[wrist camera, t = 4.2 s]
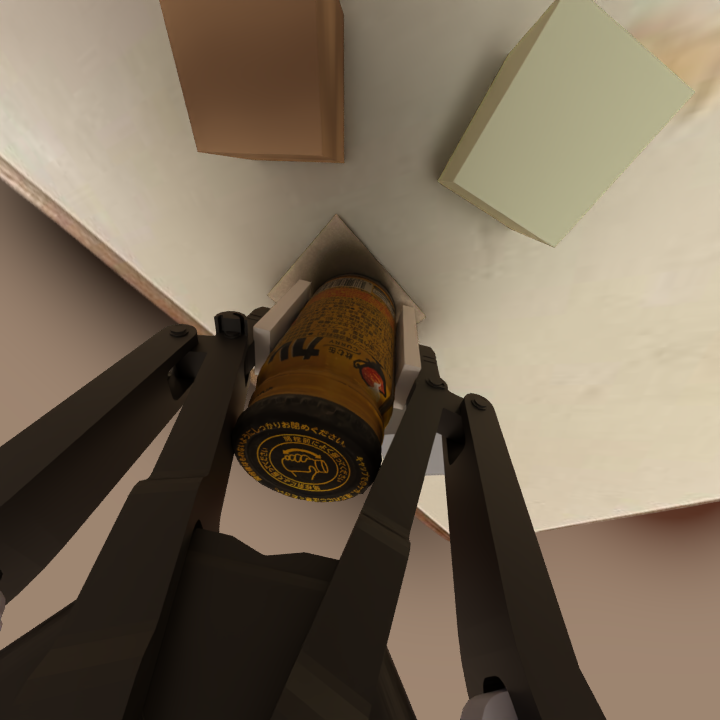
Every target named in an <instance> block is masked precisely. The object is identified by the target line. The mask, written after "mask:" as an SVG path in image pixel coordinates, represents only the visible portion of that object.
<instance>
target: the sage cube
mask: <svg viewBox="0 0 720 720" xmlns="http://www.w3.org/2000/svg"><path fill="white" fill-rule="evenodd" d="M694 93H695V91H694V90H693V89H692V88H690V87H689V86H688V85H687V84H686V83H685V82H684V81H683V80H681V79H680V78H679V77H678V76H677V75H676V74H675V73H673V72H672V71H671V70H670V69H669V68H668V67H667V66H666V65H664V64H663V63H662V62H661V61H660V60H659V59H658V58H657V57H655V56H654V55H653V54H652V53H651V52H650V51H649V50H647V49H646V48H645V47H644V46H643V45H642V44H641V43H640V42H638V41H637V40H636V39H635V38H634V37H633V36H632V35H631V34H629V33H628V32H627V31H626V30H625V29H624V28H623V27H621V26H620V25H619V24H618V23H617V22H616V21H615V20H614V19H612V18H611V17H610V16H609V15H608V14H607V13H606V12H605V11H603V10H602V9H601V8H600V7H599V6H598V5H597V4H595V3H594V2H593V1H592V0H555V1H554V2H553V3H552V5H551V6H550V7H549V8H548V9H547V10H546V12H545V13H544V14H543V15H542V16H541V17H540V18H539V20H538V21H537V22H536V23H535V24H534V25H533V26H532V28H531V29H530V30H529V31H528V32H527V33H526V35H525V36H524V37H523V38H522V39H521V40H520V41H519V43H518V44H517V45H516V46H515V47H514V48H513V49H512V51H511V52H510V53H509V54H508V56H507V58H506V59H505V61H504V63H503V65H502V67H501V68H500V70H499V72H498V74H497V75H496V77H495V79H494V81H493V83H492V84H491V86H490V88H489V90H488V92H487V93H486V95H485V97H484V99H483V101H482V102H481V104H480V106H479V108H478V109H477V111H476V113H475V115H474V117H473V118H472V120H471V122H470V124H469V126H468V127H467V129H466V131H465V133H464V135H463V136H462V138H461V140H460V142H459V143H458V145H457V147H456V149H455V151H454V152H453V154H452V156H451V158H450V160H449V161H448V163H447V165H446V167H445V169H444V170H443V172H442V174H441V176H440V177H439V179H438V181H437V182H439V183H441V184H442V185H444V186H445V187H447V188H448V189H450V190H451V191H453V192H454V193H456V194H458V195H459V196H461V197H462V198H464V199H465V200H467V201H468V202H470V203H472V204H473V205H475V206H476V207H478V208H479V209H481V210H482V211H484V212H485V213H487V214H489V215H490V216H492V217H493V218H495V219H496V220H498V221H499V222H501V223H503V224H504V225H506V226H507V227H509V228H510V229H512V230H514V231H517V232H519V233H521V234H524V235H526V236H528V237H531V238H533V239H535V240H538V241H540V242H542V243H545V244H547V245H549V246H552V247H554V248H555V247H556V246H557V244H558V243H559V242H560V241H561V240H562V239H563V238H564V237H565V236H566V235H567V233H568V232H569V231H570V230H571V229H572V228H573V227H574V226H575V225H576V224H577V222H578V221H579V220H580V219H581V218H582V217H583V216H584V215H585V214H586V212H587V211H588V210H589V209H590V208H591V207H592V206H593V205H594V204H595V203H596V201H597V200H598V199H599V198H600V197H601V196H602V195H603V194H604V193H605V191H606V190H607V189H608V188H609V187H610V186H611V185H612V184H613V183H614V182H615V180H616V179H617V178H618V177H619V176H620V175H621V174H622V173H623V172H624V171H625V169H626V168H627V167H628V166H629V165H630V164H631V163H632V162H633V161H634V159H635V158H636V157H637V156H638V155H639V154H640V153H641V152H642V151H643V150H644V148H645V147H646V146H647V145H648V144H649V143H650V142H651V141H652V140H653V138H654V137H655V136H656V135H657V134H658V133H659V132H660V131H661V130H662V129H663V127H664V126H665V125H666V124H667V123H668V122H669V121H670V120H671V119H672V118H673V116H674V115H675V114H676V113H677V112H678V111H679V110H680V109H681V108H682V106H683V105H684V104H685V103H686V102H687V101H688V100H689V99H690V98H691V97H692V95H693V94H694Z"/></svg>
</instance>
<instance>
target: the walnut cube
mask: <svg viewBox="0 0 720 720" xmlns="http://www.w3.org/2000/svg"><path fill="white" fill-rule="evenodd" d="M159 1H160V5H161V9H162V13H163V17H164V21H165V25H166V29H167V33H168V37H169V41H170V45H171V48H172V52H173V56H174V60H175V64H176V68H177V72H178V76H179V80H180V84H181V88H182V92H183V96H184V100H185V103H186V107H187V111H188V115H189V119H190V123H191V127H192V131H193V135H194V139H195V143H196V147H197V151H198V152H202V153H209V154H216V155H223V156H230V157H237V158H244V159H251V160H269V161H300V162H331V163H344V14H343V11H342V8H341V5H340V2H339V0H159Z"/></svg>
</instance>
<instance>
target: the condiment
mask: <svg viewBox="0 0 720 720" xmlns="http://www.w3.org/2000/svg"><path fill="white" fill-rule="evenodd" d="M299 280H304V281H308V282H311V290H310V300H309V301H308V303H307V304H306V305H305V307H304V308H303V309H302V310H301V311H300V313H299V315H298V316H297V318H296V320H295V321H294V322H293V323H292V324H291V326H290V328H289V329H288V330H287V332H286V333H285V335H284V336H283V337H282V339H280V340H279V342H278V343H277V345H276V347H275V348H274V350H273V351H272V352H271V353H270V354H269V356H268V357H267V359H266V361H265V363H264V364H263V366H262V367H261V369H260V371H259V374H258V377H257V383H256V390H255V392H254V393H253V395H252V396H251V399H250V401H249V405H248V408H247V409H246V410H245V411H244V412H242V413H241V415H240V416H239V417H238V419H237V422H236V424H235V427H234V429H233V434H232V446H233V452H234V454H235V456H236V457H237V460H238V462H239V463H240V465H241V466H242V467H243V468H244V470H245V471H246V472H247V473H248V474H249V475H250V476H252V477H253V478H254V479H255V480H257V481H258V482H259V483H261V484H262V485H264V486H266V487H268V488H270V489H272V490H274V491H277V492H279V493H282V494H284V495H287V496H289V497H292V498H296V499H300V500H307V501H315V502H334V501H342V500H346V499H349V498H353V497H355V496H356V495H358V494H363V493H364V492H365V491H366V490H367V488H368V487H369V486H370V485H371V484H372V483H373V482H374V480H375V478H376V476H377V474H378V471H379V469H380V467H381V462H382V455H381V452H382V447H381V446H382V444H383V440H384V430H385V428H386V426H387V425H388V423H389V421H390V418H391V416H392V413H393V407H394V400H395V397H394V396H395V383H394V379H395V368H396V363H395V347H396V325H397V322H398V318H399V315H400V312H401V309H402V306H403V305H405V306H409V307H413V308H414V310H415V318H416V324H417V323H419V322H420V321H422V320H423V319H424V318H426V316H425V315H424V313H423V312H422V311H421V310H420V309H419V308H418V306H417V305H416V304H415V303H414V302H413V301H412V299H411V298H410V297H409V296H408V295H407V294H406V293H405V292H404V290H403V289H402V288H401V287H400V286H399V284H398V283H397V282H396V281H395V280H394V279H393V278H392V276H391V275H390V274H389V273H388V272H387V271H386V270H385V269H384V267H383V266H382V265H381V264H380V263H379V262H378V261H377V260H376V259H375V258H374V257H373V255H372V254H371V253H370V252H369V251H368V249H367V248H366V247H365V246H364V245H363V244H362V242H361V241H360V240H359V239H358V238H357V237H356V236H355V235H354V234H353V233H352V232H351V231H350V229H349V228H348V227H347V226H346V225H345V223H344V222H343V221H342V220H341V219H340V218H339V217H338V215H337V214H336V215H335V216H334V217H333V218H332V219H331V221H330V222H329V223H328V224H327V225H326V227H325V228H324V229H323V230H322V231H321V232H320V234H319V235H318V236H317V237H316V238H315V240H314V241H313V242H312V243H311V244H310V245H309V247H308V248H307V249H306V250H305V252H304V253H303V254H302V255H301V256H300V257H299V258H298V260H297V261H296V262H295V263H294V265H293V266H292V267H291V268H290V269H289V270H288V271H287V273H286V274H285V275H284V276H283V277H282V278H281V280H280V281H279V282H278V283H277V284H276V285H275V286H274V288H273V289H272V290H271V291H270V292H269V294H268V295H267V296H269V297H270V298H271V299H272V300H273V301H274V302H275V303H277V302H278V301H279V300H280V299H281V298H282V297H283V296H284V295H285V294H286V293H287V292H288V291H289V290H290V289H291V288H292V287H293V286H294V285H295V284H296V283H297V282H298V281H299Z"/></svg>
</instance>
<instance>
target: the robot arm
mask: <svg viewBox="0 0 720 720" xmlns="http://www.w3.org/2000/svg"><path fill="white" fill-rule="evenodd" d="M310 290H311V282H308V281H304V280H299V281H298V282H297V283H296V284H295V285H294V286H293V287H292V288H291V289H290V290H289V291H288V292H287V293H286V294H285V295H284V296H283V297H282V298H281V299H280V300H279V301H278V302H277V303H276V304H275V305H274V306H273V307H272V308H271V309H270V308H266V307H260V308H257V309H255V310H254V311H252V312H251V313H250V315H248V316H247V317H246V316H245V315H244V314H242V313H240V312H235V311H226V312H221V313H219V314H217V315H216V316H215V317H214V320H215V327H216V335H215V336H206V335H197V330H196V328H194V327H193V326H190V325H185V324H175V325H171V326H168V327H166V328H164V329H162V330H161V331H160V332H158V333H157V334H155V335H154V336H153V337H151V338H150V339H148V340H147V341H146V342H144V343H143V344H142V345H140V346H139V347H137V348H136V349H135V350H133V351H132V352H131V353H129V354H128V355H126V356H125V357H124V358H122V359H121V360H120V361H118V362H117V363H115V364H114V365H113V366H111V367H110V368H108V369H107V370H106V371H104V372H103V373H102V374H100V375H99V376H97V377H96V378H95V379H93V380H92V381H91V382H89V383H88V384H86V385H85V386H84V387H82V388H81V389H80V390H78V391H77V392H75V393H74V394H73V395H71V396H70V397H69V398H67V399H66V400H65V401H63V402H62V403H60V404H59V405H57V406H56V407H55V408H53V409H52V410H51V411H49V412H48V413H46V414H45V415H44V416H42V417H41V418H40V419H38V420H37V421H35V422H34V423H33V424H32V425H30V426H29V427H27V428H26V429H24V430H23V431H22V432H20V433H19V434H18V435H16V436H15V437H13V438H12V439H11V440H9V441H8V442H6V443H5V444H4V445H2V446H1V447H0V630H1V627H2V622H1V617H2V614H3V612H4V609H5V605H6V604H8V602H10V601H11V600H12V599H13V598H14V597H15V596H17V595H18V594H19V593H20V592H21V591H22V590H23V589H24V588H25V587H26V586H27V585H28V584H29V583H30V582H31V581H32V580H33V579H34V578H35V577H36V576H37V575H38V574H39V573H40V572H41V571H42V570H43V569H44V568H45V567H46V566H47V565H48V564H49V563H50V561H51V560H52V559H53V558H54V557H55V556H56V555H57V554H58V553H59V552H60V550H61V549H62V548H63V547H64V546H65V545H66V544H67V542H68V541H69V540H70V539H71V538H72V536H73V535H74V534H75V533H76V532H77V530H78V529H79V528H80V527H81V526H82V524H83V523H84V522H85V521H86V520H87V519H88V517H89V516H90V515H91V514H92V512H93V511H94V510H95V509H96V508H97V507H98V506H99V504H100V503H101V502H102V501H103V499H104V498H105V497H106V496H107V495H108V494H109V492H110V491H111V490H112V489H113V488H114V486H115V485H116V484H117V483H118V482H119V480H120V479H121V478H122V477H123V476H124V475H125V473H126V472H127V471H128V470H129V469H130V467H131V466H132V465H133V464H134V463H135V461H136V460H137V459H138V458H139V457H140V456H141V454H142V453H143V452H144V451H145V450H146V448H147V447H148V446H149V445H150V444H151V442H152V441H153V440H154V439H155V438H156V436H157V435H158V434H159V433H160V432H161V430H162V429H163V428H164V427H165V426H166V424H167V423H168V422H169V421H170V420H171V419H172V417H173V416H174V415H175V414H176V412H177V411H178V410H179V409H180V408H181V407H182V405H183V407H182V409H181V411H180V413H179V416H178V418H177V420H176V422H175V424H174V426H173V428H172V430H171V433H170V435H169V437H168V439H167V441H166V443H165V446H164V448H163V450H162V452H161V454H160V457H159V459H158V461H157V463H156V465H155V467H154V469H153V472H152V473H151V475H150V477H149V478H148V479H146V480H142V481H139V482H138V483H137V484H136V485H135V486H134V487H133V489H132V491H131V492H130V494H129V496H128V498H127V500H126V502H125V504H124V506H123V508H122V510H121V512H120V514H119V516H118V518H117V520H116V522H115V524H114V526H113V528H112V530H111V532H110V534H109V536H108V538H107V540H106V542H105V544H104V546H103V548H102V550H101V552H100V554H99V556H98V558H97V560H96V562H95V564H94V566H93V568H92V570H91V572H90V574H89V576H88V578H87V580H86V582H85V584H84V586H83V588H82V590H81V592H80V594H79V596H78V598H77V599H76V600H75V601H73V602H72V603H70V604H69V605H67V606H66V607H64V608H63V609H62V610H60V611H59V612H57V613H56V614H54V615H53V616H51V617H50V618H48V619H47V620H45V621H44V622H42V623H41V624H39V625H38V626H36V627H35V628H33V629H32V630H30V631H29V632H27V633H26V634H24V635H23V636H21V637H20V638H18V639H17V640H15V641H14V642H12V643H11V644H9V645H8V646H6V647H5V648H3V649H2V650H0V720H417V719H416V716H415V714H414V711H413V709H412V706H411V704H410V701H409V699H408V697H407V694H406V692H405V689H404V687H403V684H402V682H401V680H400V677H399V675H398V672H397V670H396V667H395V665H394V663H393V660H392V658H391V655H390V653H389V650H388V648H387V641H388V637H389V633H390V629H391V625H392V621H393V617H394V613H395V609H396V605H397V601H398V597H399V593H400V589H401V585H402V581H403V577H404V573H405V569H406V565H407V561H408V556H409V552H410V541H409V534H410V530H411V526H412V523H413V519H414V515H415V511H416V507H417V504H418V500H419V496H420V492H421V489H422V485H423V481H424V477H425V473H426V470H427V466H428V462H429V458H430V454H431V451H432V447H433V443H434V439H435V436H436V433H438V434H440V435H442V449H443V461H444V472H445V484H446V496H447V508H448V520H449V532H450V543H451V555H452V567H453V579H454V592H455V603H456V615H457V627H458V637H459V645H460V654H461V661H462V667H463V672H464V677H465V682H466V687H467V692H468V696H469V700H468V702H467V703H466V705H465V706H464V708H463V711H462V715H461V719H460V720H606V718H605V716H604V714H603V712H602V710H601V708H600V706H599V704H598V703H597V701H596V699H595V697H594V695H593V693H592V691H591V689H590V687H589V685H588V684H587V682H586V680H585V678H584V676H583V674H582V672H581V670H580V669H579V665H578V662H577V659H576V656H575V654H574V650H573V647H572V645H571V641H570V638H569V635H568V632H567V629H566V626H565V623H564V620H563V617H562V614H561V611H560V608H559V605H558V602H557V599H556V596H555V593H554V589H553V587H552V584H551V580H550V577H549V575H548V571H547V568H546V565H545V562H544V559H543V556H542V553H541V550H540V547H539V544H538V541H537V538H536V535H535V532H534V529H533V526H532V523H531V520H530V516H529V513H528V510H527V507H526V504H525V501H524V498H523V495H522V492H521V489H520V486H519V483H518V480H517V477H516V474H515V471H514V468H513V465H512V462H511V459H510V456H509V453H508V450H507V447H506V443H505V440H504V437H503V434H502V431H501V428H500V425H499V422H498V419H497V416H496V413H495V410H494V407H493V406H492V404H491V403H490V402H489V401H488V400H487V399H486V398H484V397H482V396H480V395H477V394H473V393H470V394H467V395H466V396H465V397H464V398H461V397H459V396H457V395H455V394H453V393H451V392H450V391H448V386H447V384H446V382H445V381H444V380H442V379H441V378H440V376H439V371H438V366H437V361H436V356H435V353H434V351H433V350H432V349H431V348H430V347H427V346H423V345H419V344H418V336H417V327H416V318H415V310H414V308H413V307H409V306H405V305H403V306H402V309H401V312H400V315H399V318H398V322H397V325H396V347H395V363H396V368H395V379H394V383H395V396H394V397H395V400H394V407H393V408H397V409H401V410H403V408H404V406H405V404H406V410H405V413H404V415H403V417H402V419H401V422H400V424H399V426H398V428H397V431H396V433H395V435H394V438H393V440H392V442H391V444H390V447H389V449H388V451H387V453H386V456H385V458H384V460H383V462H382V465H381V467H380V469H379V471H378V474H377V476H376V478H375V480H374V483H373V485H372V487H371V490H370V492H369V494H368V496H367V499H366V501H365V503H364V506H363V508H362V510H361V512H360V514H359V517H358V519H357V521H356V523H355V526H354V528H353V530H352V533H351V535H350V537H349V539H348V542H347V544H346V546H345V548H344V551H343V553H342V555H341V557H340V560H336V559H332V558H327V557H323V556H319V555H314V554H310V553H305V552H303V553H292V554H281V555H269V556H267V555H262V554H261V553H259V552H257V551H255V550H254V549H253V548H251V547H249V546H248V545H246V544H244V543H243V542H241V541H240V540H238V539H236V538H235V537H233V536H230V535H226V534H222V533H219V525H220V516H221V511H222V506H223V502H224V497H225V493H226V488H227V484H228V479H229V474H230V470H231V465H232V461H233V456H234V452H233V446H232V434H233V429H234V427H235V424H236V422H237V419H238V417H239V416H240V415H241V413H242V412H243V410H244V406H245V401H246V396H247V392H248V387H249V383H250V371H251V370H252V368H253V367H254V366H255V374H256V375H258V374H259V371H260V369H261V367H262V366H263V364H264V363H265V361H266V359H267V357H268V356H269V354H270V353H271V352H272V351H273V350H274V348H275V347H276V345H277V343H278V342H279V340H280V339H282V337H283V336H284V335H285V333H286V332H287V330H288V329H289V328H290V326H291V324H292V323H293V322H294V321H295V320H296V318H297V316H298V315H299V313H300V311H301V310H302V309H303V308H304V307H305V305H306V304H307V303H308V301H309V300H310Z"/></svg>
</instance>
